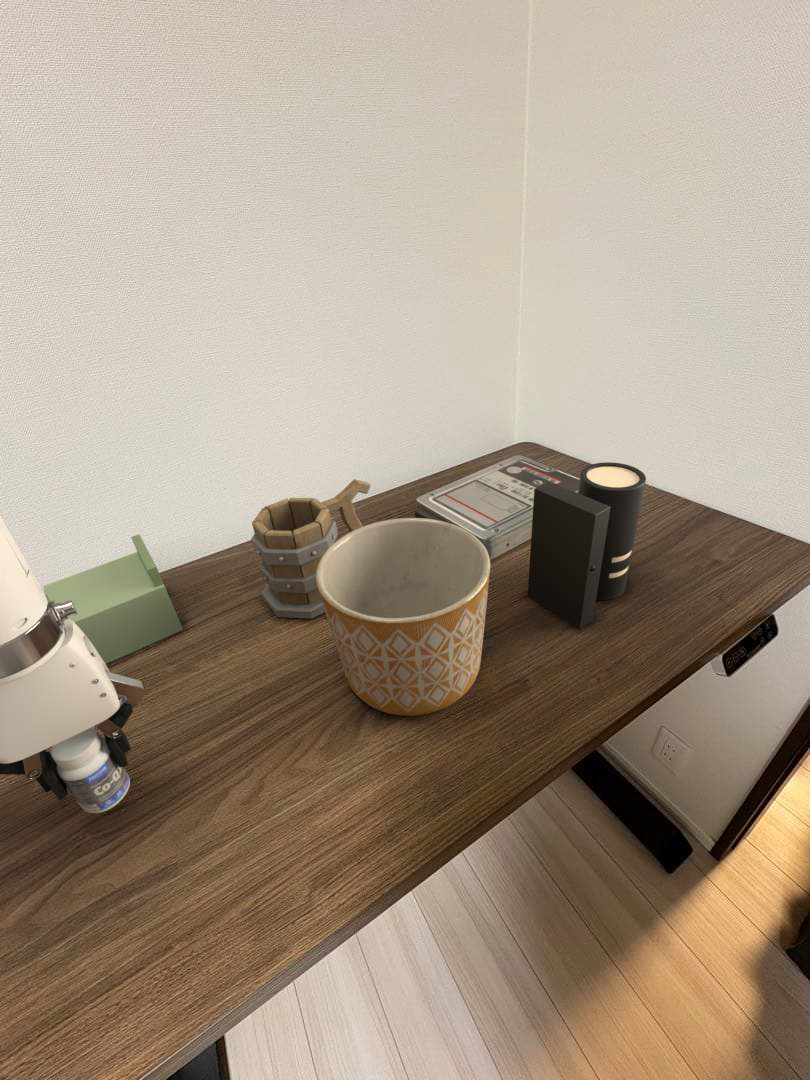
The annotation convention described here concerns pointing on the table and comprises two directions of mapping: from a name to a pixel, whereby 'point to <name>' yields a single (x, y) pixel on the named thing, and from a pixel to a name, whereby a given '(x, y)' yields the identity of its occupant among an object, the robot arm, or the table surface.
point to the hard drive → (494, 501)
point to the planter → (407, 611)
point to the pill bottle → (90, 771)
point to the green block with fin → (119, 603)
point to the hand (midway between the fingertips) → (92, 770)
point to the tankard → (299, 548)
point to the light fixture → (584, 540)
